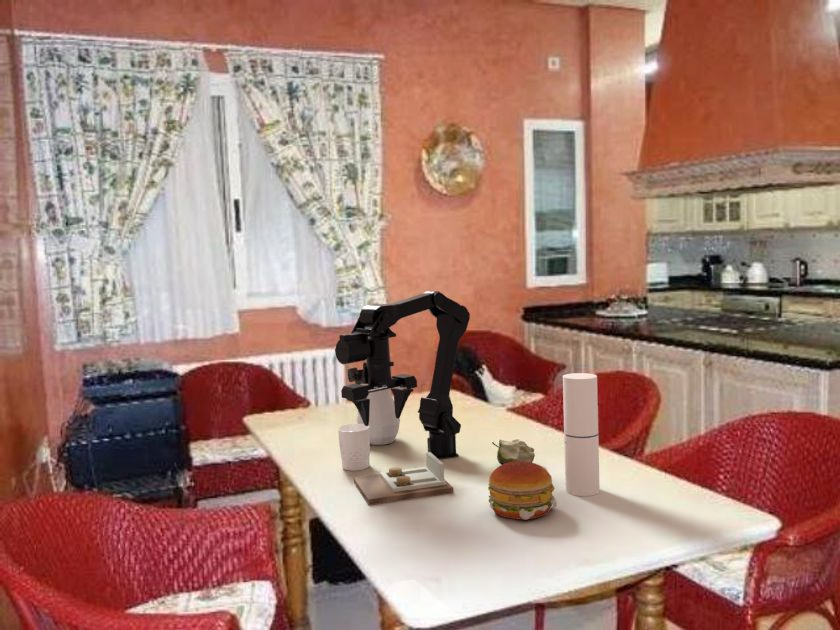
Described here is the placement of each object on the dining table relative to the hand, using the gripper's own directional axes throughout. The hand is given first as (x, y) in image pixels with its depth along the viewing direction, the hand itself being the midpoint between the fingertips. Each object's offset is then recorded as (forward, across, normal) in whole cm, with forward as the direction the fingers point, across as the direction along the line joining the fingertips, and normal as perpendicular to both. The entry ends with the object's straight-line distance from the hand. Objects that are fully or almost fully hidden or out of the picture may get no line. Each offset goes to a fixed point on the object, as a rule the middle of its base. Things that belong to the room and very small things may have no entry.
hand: (382, 421), depth 171 cm
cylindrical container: (+13, -22, +42) cm, 49 cm away
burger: (+13, -4, +41) cm, 43 cm away
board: (+12, +4, +12) cm, 18 cm away
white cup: (+13, +2, -9) cm, 16 cm away
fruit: (+13, -25, +19) cm, 34 cm away
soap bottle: (+13, -16, -25) cm, 32 cm away
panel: (+11, +2, +13) cm, 17 cm away
